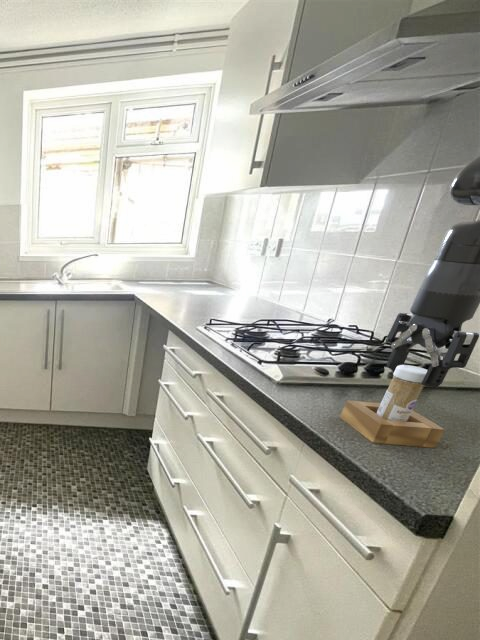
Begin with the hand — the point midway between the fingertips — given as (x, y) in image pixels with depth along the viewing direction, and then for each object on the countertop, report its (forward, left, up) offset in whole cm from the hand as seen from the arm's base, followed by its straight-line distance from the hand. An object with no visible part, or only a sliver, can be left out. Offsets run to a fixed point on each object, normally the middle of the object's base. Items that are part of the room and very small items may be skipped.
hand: (410, 376), depth 77 cm
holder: (0, 0, -12) cm, 12 cm away
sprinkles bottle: (0, 0, -12) cm, 12 cm away
